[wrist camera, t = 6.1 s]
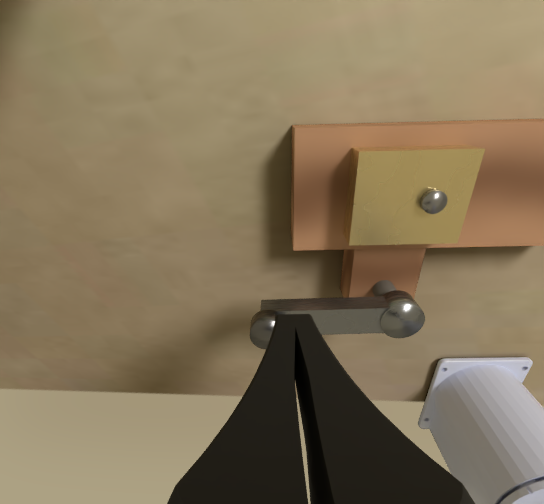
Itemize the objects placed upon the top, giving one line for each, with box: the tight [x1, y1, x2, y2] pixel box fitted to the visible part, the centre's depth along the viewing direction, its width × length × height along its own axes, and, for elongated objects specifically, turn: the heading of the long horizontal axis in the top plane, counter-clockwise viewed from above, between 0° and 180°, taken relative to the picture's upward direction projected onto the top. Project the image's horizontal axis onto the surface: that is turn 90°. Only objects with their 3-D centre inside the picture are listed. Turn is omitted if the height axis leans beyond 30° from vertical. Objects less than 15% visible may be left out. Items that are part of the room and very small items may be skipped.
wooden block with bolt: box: [343, 145, 485, 246], centre depth 15 cm, size 5×6×2 cm
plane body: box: [291, 119, 544, 299], centre depth 18 cm, size 12×18×4 cm, turn 91°
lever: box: [250, 290, 425, 349], centre depth 17 cm, size 10×2×2 cm, turn 92°
